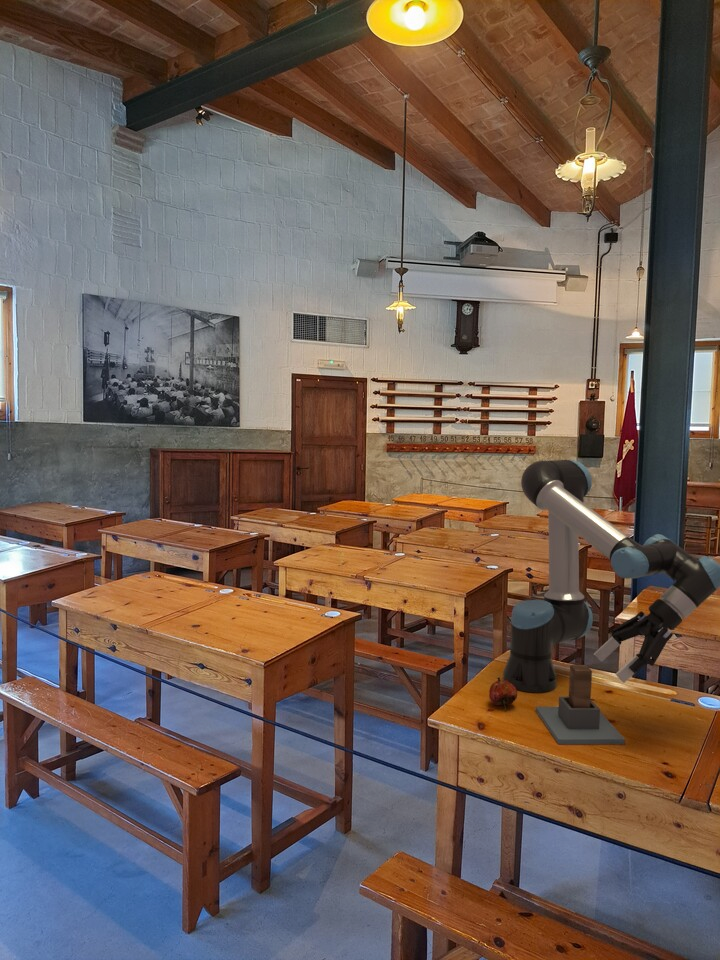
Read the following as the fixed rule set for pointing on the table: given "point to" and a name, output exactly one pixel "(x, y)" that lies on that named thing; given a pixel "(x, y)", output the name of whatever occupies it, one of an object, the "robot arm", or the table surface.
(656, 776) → the table surface
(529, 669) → the robot arm
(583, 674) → the walnut rail post
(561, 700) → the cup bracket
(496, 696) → the pomegranate
